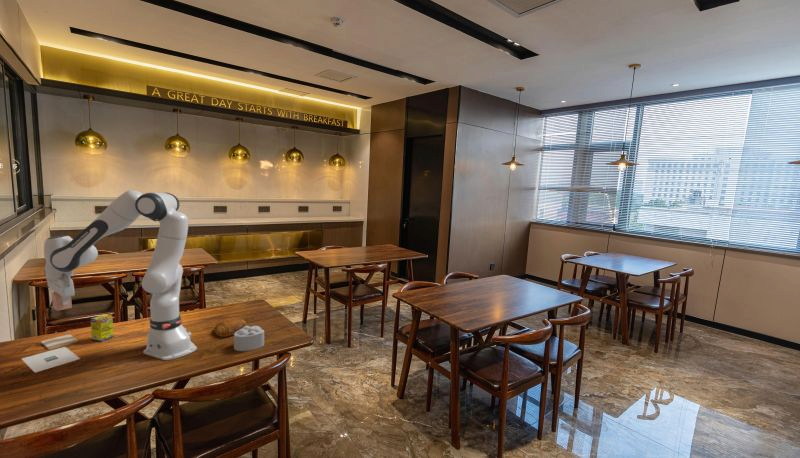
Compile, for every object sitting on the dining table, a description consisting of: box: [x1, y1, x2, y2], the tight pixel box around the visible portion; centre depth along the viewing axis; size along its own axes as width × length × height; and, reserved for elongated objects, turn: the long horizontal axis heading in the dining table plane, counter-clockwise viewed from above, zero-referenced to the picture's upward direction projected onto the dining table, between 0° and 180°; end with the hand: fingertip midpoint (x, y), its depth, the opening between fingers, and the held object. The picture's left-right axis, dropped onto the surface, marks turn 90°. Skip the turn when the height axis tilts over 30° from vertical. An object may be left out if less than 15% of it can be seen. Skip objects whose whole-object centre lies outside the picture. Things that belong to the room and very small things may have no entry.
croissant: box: [213, 316, 248, 338], centre depth 188 cm, size 14×16×8 cm
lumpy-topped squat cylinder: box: [233, 325, 265, 352], centre depth 173 cm, size 10×13×9 cm
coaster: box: [40, 333, 78, 350], centre depth 167 cm, size 10×10×1 cm
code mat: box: [21, 346, 81, 373], centre depth 153 cm, size 18×14×1 cm
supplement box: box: [90, 313, 114, 343], centre depth 172 cm, size 6×6×11 cm
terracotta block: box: [51, 291, 73, 312], centre depth 159 cm, size 5×5×7 cm
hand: (62, 302), depth 160 cm, fingers closed on terracotta block, 5 cm apart
